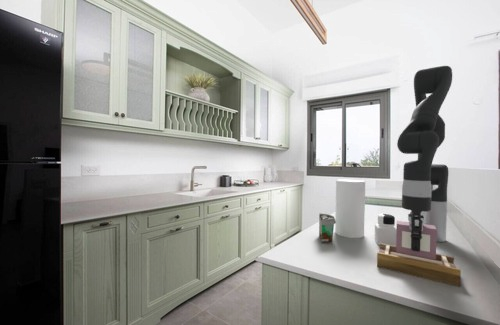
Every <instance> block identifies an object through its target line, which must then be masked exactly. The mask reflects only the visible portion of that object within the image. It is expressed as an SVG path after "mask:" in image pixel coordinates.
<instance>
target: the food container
mask: <svg viewBox="0 0 500 325" xmlns="http://www.w3.org/2000/svg"><path fill="white" fill-rule="evenodd" d="M318 218H319V222H318V223H319V226H318V228H319V231H318V237H319V240H320V243H321V244H330V243H332V242H333V238H334V229H335V228H334V227H335V223H336V221H335V218H336V217H335V216H334V215H331V214H327V213H321V212H320V213H319V217H318Z"/></svg>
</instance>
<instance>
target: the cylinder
mask: <svg viewBox="0 0 500 325" xmlns="http://www.w3.org/2000/svg"><path fill="white" fill-rule="evenodd" d="M335 184H336V185H335V217H334V218H335V221H336V223H335V224H334V227H335V228H334V229H335V230H334V233H335V234H336V235H338V236H340V237H343V238H351V239H361V238H364V237H365V219H366V218H365V216H366V215H365V212H366V205H365V204H366V181H365V180H360V179H359V180H358V179H345V178H344V179H336V181H335Z"/></svg>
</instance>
